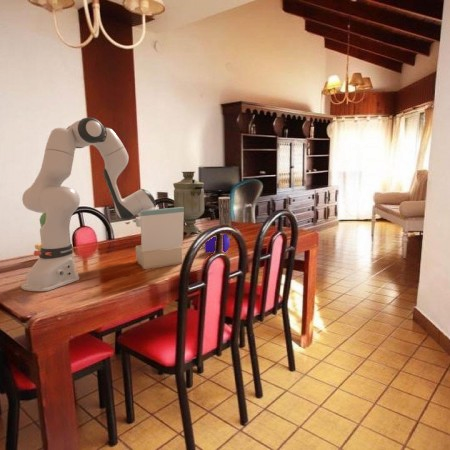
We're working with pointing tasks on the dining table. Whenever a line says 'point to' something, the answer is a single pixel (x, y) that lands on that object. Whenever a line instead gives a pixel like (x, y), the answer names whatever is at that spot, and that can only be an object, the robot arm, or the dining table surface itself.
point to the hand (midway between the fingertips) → (162, 222)
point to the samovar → (189, 200)
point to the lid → (162, 228)
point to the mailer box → (159, 257)
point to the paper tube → (224, 212)
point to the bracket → (211, 244)
